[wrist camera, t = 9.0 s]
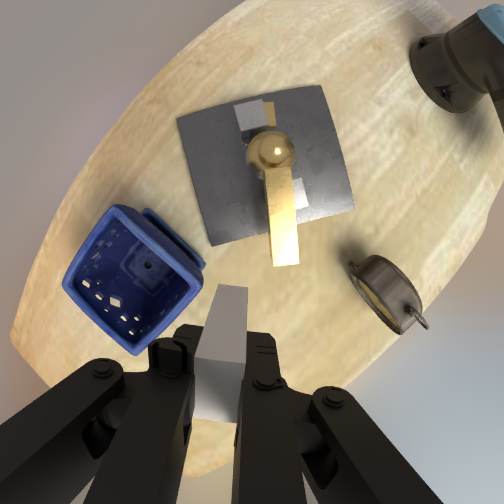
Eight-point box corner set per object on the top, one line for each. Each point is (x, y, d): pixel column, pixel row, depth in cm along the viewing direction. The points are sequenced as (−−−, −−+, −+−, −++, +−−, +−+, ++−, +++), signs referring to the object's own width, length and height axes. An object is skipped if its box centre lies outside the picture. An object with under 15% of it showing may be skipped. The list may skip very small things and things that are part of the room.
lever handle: (242, 106, 29) (240, 86, 22) (286, 103, 29) (295, 83, 22) (256, 252, 32) (258, 267, 26) (300, 248, 32) (313, 262, 26)
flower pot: (150, 195, 36) (110, 198, 24) (218, 259, 38) (205, 289, 26) (101, 261, 38) (56, 285, 26) (162, 319, 40) (135, 362, 28)
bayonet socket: (318, 88, 33) (331, 68, 26) (351, 208, 37) (373, 212, 30) (179, 121, 34) (164, 106, 27) (213, 244, 38) (204, 256, 30)
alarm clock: (337, 263, 38) (387, 308, 22) (364, 239, 38) (428, 270, 22) (372, 313, 40) (423, 369, 24) (397, 291, 39) (456, 337, 24)
